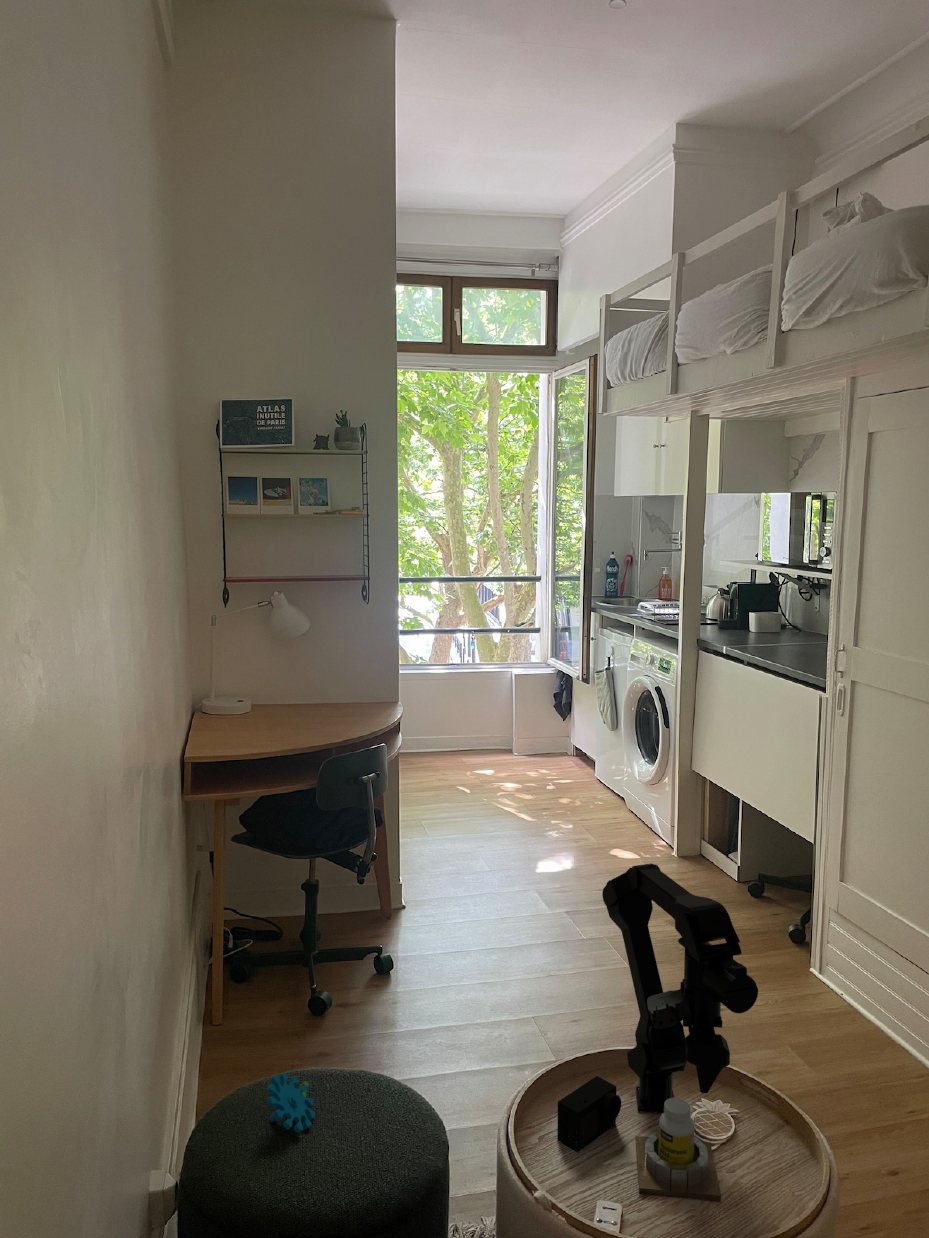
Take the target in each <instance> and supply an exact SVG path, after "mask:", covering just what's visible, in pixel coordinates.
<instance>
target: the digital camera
mask: <svg viewBox="0 0 929 1238" xmlns="http://www.w3.org/2000/svg"><path fill="white" fill-rule="evenodd" d="M621 1108H622V1099H621V1097H620V1096H619V1095H618V1094H617V1086H616V1085H614V1083H611V1082H609V1081H608V1080H605V1079H604V1078H602V1077H600V1076H599V1075H596V1076H595V1077H592V1078H591V1079H590V1080H588V1081H586V1082H585V1083H583V1084H582V1085H581V1086H579V1087H577V1089H574V1090H573V1091H571V1092H570V1093H568V1094H567V1095H566V1096H564V1097H563V1098H562V1099H560V1100H558V1101H557V1139H556V1140H557V1141H558V1142H559V1143H560V1144H562V1145H564V1146H566V1147H567V1148H569V1149H570V1150H571V1151H573V1152H575V1153H579V1152H581V1151H582V1150H583V1149H585V1148H586V1147H588V1146H589V1145H591V1144H592V1143H593V1142H595V1141H596V1140H598V1139H599V1138H600V1137H601V1136H602V1135H604V1134H605V1133H607V1132H608V1131H610V1130H611V1129H612V1128H613V1127H615V1126H616V1125H617V1118H618V1117H619V1115H620V1111H621Z"/></svg>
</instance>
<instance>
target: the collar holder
mask: <svg viewBox="0 0 929 1238" xmlns="http://www.w3.org/2000/svg"><path fill="white" fill-rule="evenodd" d="M634 1139H635V1141H634V1143H635V1155H636V1167H637V1168H636V1169H637V1171H636V1172H637V1182H638V1184H637V1185H638V1194H639V1195H645V1196H655V1197H663V1198H664V1197H666V1198H675V1199H686V1200H695V1201H704V1202H705V1201H707V1202H715V1203H722V1195H721V1189H720V1184H719V1179H718V1173H717V1170H716V1169H717V1168H716V1163H715V1157H714V1154H713V1148H712V1143H711V1142H709V1141H701V1140H700V1139H699V1138H698V1137H697V1136H696V1135H694V1163H691V1164H688V1165H676V1164H671V1163H669V1162H667V1161H664V1160H662V1159H661V1158H660V1157H659V1156H658V1149H659V1130H658V1131H654V1132H653V1133H652V1132H651V1134H650V1135H649V1136H643V1135H641V1136H640V1135H635V1138H634Z"/></svg>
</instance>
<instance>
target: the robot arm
mask: <svg viewBox="0 0 929 1238" xmlns="http://www.w3.org/2000/svg"><path fill="white" fill-rule="evenodd" d="M661 870H662V869H660V866H659V865H658V864H654V863H645V864H638V865H637V864H635V865H632V866H631V867H629V868H628V869H627V870H626V872H623V873H622V874H620V875H618V876H616V877H614V878H612V879H610V880H609V879H608V881H607V882H606V885H605V886H604V887H603V889H602V894H601V895H602V900H603V904H604V905H605V906H606V909H607V913H608V917H609V918H610V919H611V921H613V923H614V924H615V925H616V926H617V928H618V929H619V930H620V931H621V934H622V939H623V943H624V948H625V952H626V956H627V961H628V967H629V971H630V975H631V980H632V984H633V989H634V993H635V997H636V1001H637V1006H638V1012H639V1019H638V1022H637V1025H636V1026H637V1027H636V1029H635V1033H634V1037H635V1042H636V1043H635V1044H636V1046H634V1047H633V1048H631V1049H630V1050H629V1051H628V1052H626V1056H627V1063H628V1066H629V1068H630V1069H631V1070H632V1071H633V1072H634V1074H636V1076H638V1078H639V1079H638V1082H639V1084H638V1086H636V1087H635V1095H636V1107H637V1108H636V1109H637V1111H638V1112H646V1113H656V1114H657V1113H658V1114H663V1113H664V1103H665V1101H666V1100H667V1099H670V1098H675V1095H674V1090H673V1079H674V1078H673V1077H674V1076H673V1075H674V1074H673V1073H678V1072H684V1071H685V1068H686V1066H687V1062H688V1063H689V1064H691V1065H694V1066H695V1069H696V1075H697V1081H698V1086H699V1087H698V1088H699V1091H700V1093H701V1094H708V1093H709V1091H710V1089H712V1086H713V1084H714V1083H715V1081H716V1080H717V1078H718V1076H719V1074H720V1073H721V1072H722V1070H723V1068H724V1067H725V1068H726V1067H728V1066H730V1063H731V1062H730V1061H731V1059H730V1058H731V1052H730V1049H729V1048H730V1047H729V1045H728V1041H727V1039H726V1038H725V1037H724V1036H722V1035H721V1034H717V1033H716V1030H715V1028H723V1017H722V1015H721V1009H722V1008H721V1005H723V1006H724V1007H726V1009H728V1010H729V1011H731V1013H733V1014H743V1013H746V1012H748V1011H749V1010H751V1009H752V1007H753V1006H754V1005H755V1003H756V1002H757V1000H758V996H759V988H758V986H757V982H756V981H755V980H754V978H753V977H751V976H750V975H749V974H748V968H747V967H746V966H745V965H743V963H739V962H738V961H737V960H735V959H734V956H735V957H736V956H740V955H742V949H741V946H740V943H741V941H740V939H739V937H738V936H739V935H738V934H737V932H736V930H735V927H734V925H733V922H732V920H731V917H730V914H729V912H728V910H727V909H726V907H725V906H724V905H723V904H722V903H720V902H718V901H717V900H714V899H712V898H710V897H706V896H701V895H695V894H692V892H689V891H688V890H687V889H685V888H684V887H683V886H681V885H680V884H679V883H677V882H676V881H675V880H674V879H672V878H671V877H670V876H668V875H667V874H665V872H663V871H661ZM653 903H655V904H656V905H657V906H658V907H659V908H661V909H662V910H663V911H664V912H665V913H666V914H668V915H669V916H670V917H671V918H672V919H673V920H674V928H675V930H676V932H677V933H678V934H679V935H680V937H679V938H678V940H677V942H678V944H679V945H681V946H682V947H683V948H684V965H683V967H684V968H683V969H684V970H683V978H682V981H680V985H679V986H680V988H679V989H676V990H675V989H673V990H667V991H664V988H663V984H662V980H661V976H660V972H659V971H660V970H659V967H658V963H657V959H656V954H655V951H654V950H655V949H654V945H653V941H652V937H651V934H650V929H649V923H650V920H651V916H652V913H653V910H654V909H653V908H654V907H653ZM721 940H725V942H723V943H718V944H716V943H715V944H712V943H711V942H716V941H721ZM685 1027H687V1028H688V1035H686V1034H685V1031H684V1030H685V1029H684V1028H685ZM638 1088H639V1089H638Z"/></svg>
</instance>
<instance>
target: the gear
mask: <svg viewBox="0 0 929 1238" xmlns="http://www.w3.org/2000/svg"><path fill="white" fill-rule="evenodd" d="M288 1079H289V1075H288V1074H287V1073H286V1072H281V1074H280V1075H274V1076H273V1077H272V1078H271V1079H270V1083H271V1084H270V1085H269V1086H268V1087H267V1088H266V1092H267V1094H270V1095H271V1096H270V1097H268V1099H267V1106H268V1107H275V1108H277V1109H276V1110H275V1111H274V1112H273V1113H272V1114H271V1115H270V1116H269V1120H270V1122H272V1123H274V1122H275V1121H279V1120H280V1119H281V1118H282V1117H286V1118H287V1119H286V1120H285V1121H284V1122H283V1123H282V1127H284V1128H285V1129H286V1130H287V1131H288V1130H290V1129H291V1128H292V1126H293V1121H294V1122H295V1125H294V1126H293V1130H294V1132H295V1133H298V1134H300V1133H301V1132H302V1131H303V1130H307V1129H309V1128H310V1127H312V1122H311V1120H312V1119H314V1118H315V1115H316V1112H315V1111H314V1110H313V1109H311V1108H312V1107H313V1106H314V1099H313V1097H307V1093H308V1092H309V1091H308V1087H309V1082H308V1081H307V1080H304V1081H303V1082H302V1083H301V1084H299V1086H298V1088H296V1085H297V1084H298V1083H299V1081H300V1080H299V1079H298V1078H297V1076H295V1075H293V1076H292V1077H291V1078H290V1080H289V1084H288V1083H287V1080H288ZM280 1082H281V1083H280Z"/></svg>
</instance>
